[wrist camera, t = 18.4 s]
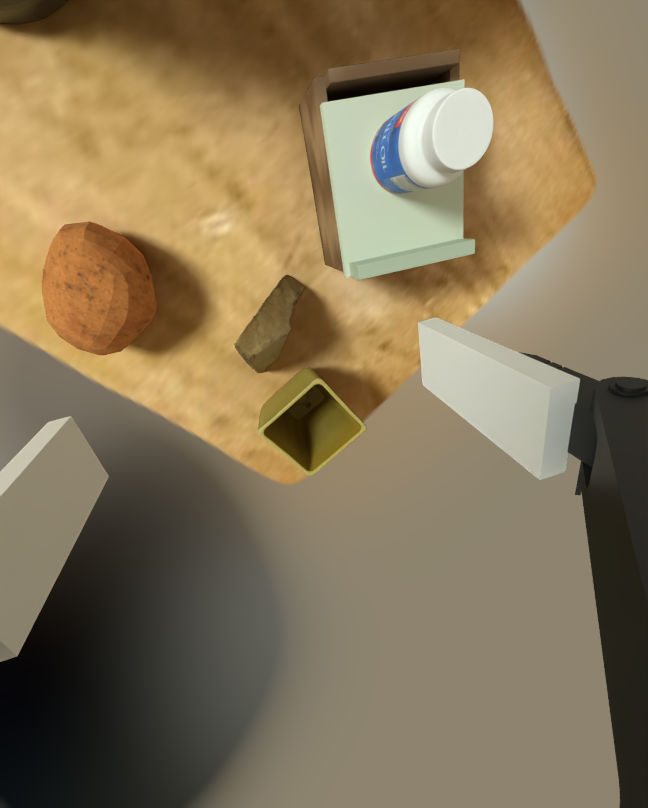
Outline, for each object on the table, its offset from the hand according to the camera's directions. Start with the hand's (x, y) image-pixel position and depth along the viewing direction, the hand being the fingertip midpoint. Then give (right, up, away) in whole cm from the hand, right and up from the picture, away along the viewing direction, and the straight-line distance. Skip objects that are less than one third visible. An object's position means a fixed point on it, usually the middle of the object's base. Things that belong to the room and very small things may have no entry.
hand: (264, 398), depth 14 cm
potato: (-19, +11, +23) cm, 32 cm away
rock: (-3, +9, +28) cm, 29 cm away
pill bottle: (+8, +20, +16) cm, 27 cm away
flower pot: (-1, +1, +32) cm, 32 cm away
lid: (+9, +19, +18) cm, 27 cm away
